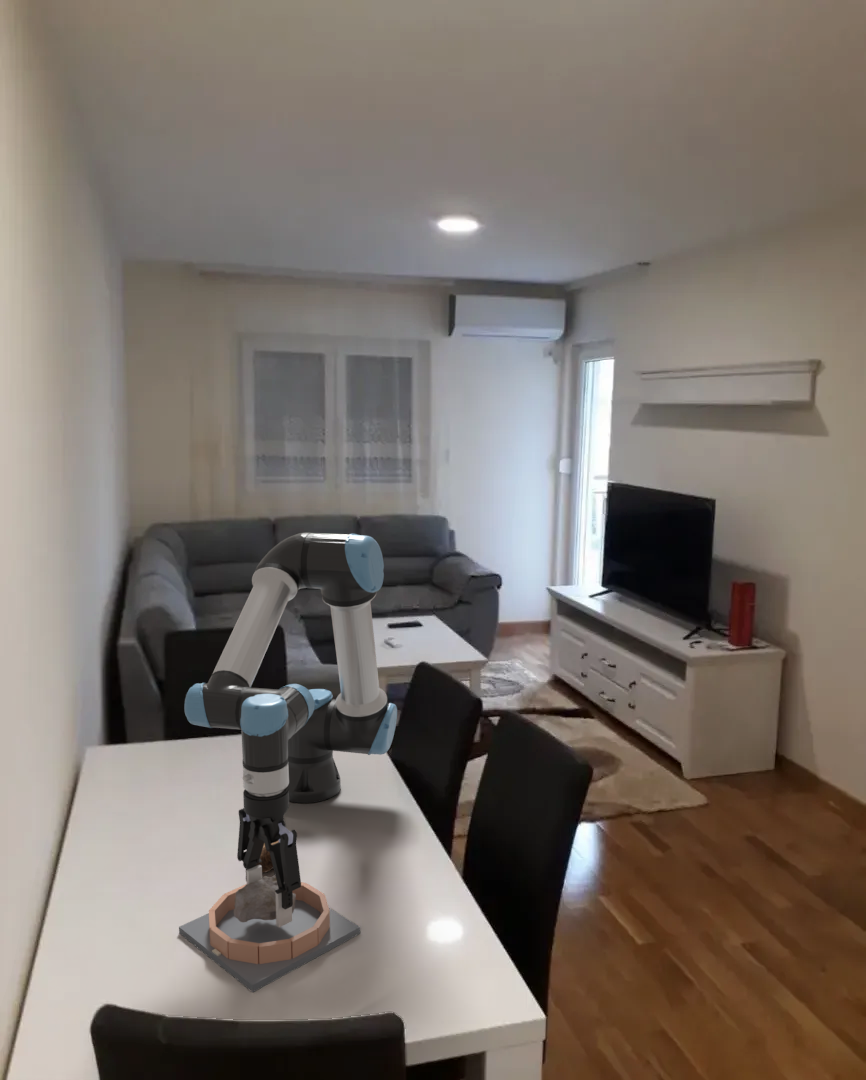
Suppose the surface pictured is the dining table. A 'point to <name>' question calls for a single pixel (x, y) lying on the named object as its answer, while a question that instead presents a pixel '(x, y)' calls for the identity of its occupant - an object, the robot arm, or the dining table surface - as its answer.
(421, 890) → the dining table surface
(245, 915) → the stone
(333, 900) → the dining table surface
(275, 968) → the socket
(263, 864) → the mushroom
